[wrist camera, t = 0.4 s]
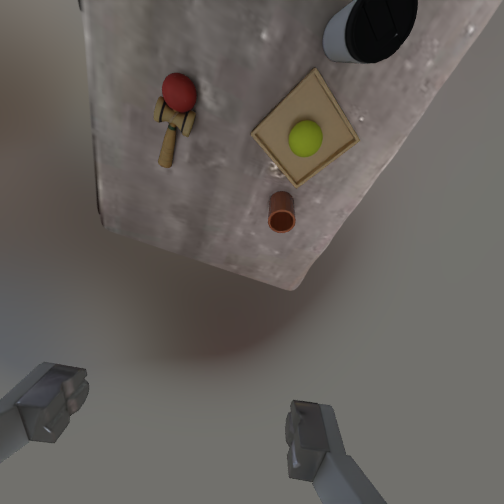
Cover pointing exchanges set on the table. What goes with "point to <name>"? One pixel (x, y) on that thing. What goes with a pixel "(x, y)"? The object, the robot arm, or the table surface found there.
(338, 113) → the tray
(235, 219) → the table surface
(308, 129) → the tennis ball
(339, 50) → the travel mug
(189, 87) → the kendama
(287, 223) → the cup
